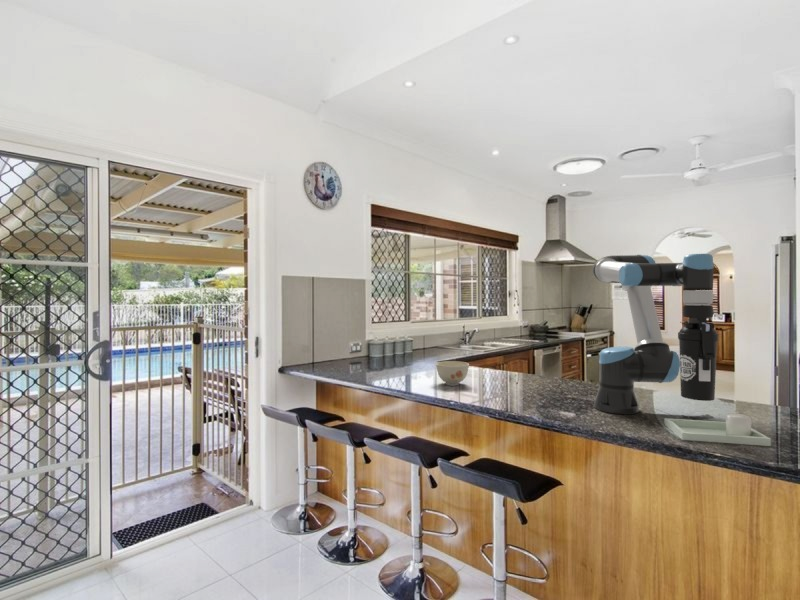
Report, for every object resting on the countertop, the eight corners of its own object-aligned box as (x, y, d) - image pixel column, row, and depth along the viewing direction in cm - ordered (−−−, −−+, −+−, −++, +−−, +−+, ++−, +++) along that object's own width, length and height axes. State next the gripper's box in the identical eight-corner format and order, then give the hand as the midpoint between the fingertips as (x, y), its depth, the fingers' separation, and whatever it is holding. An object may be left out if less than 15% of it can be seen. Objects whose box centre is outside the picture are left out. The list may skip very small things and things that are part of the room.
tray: (682, 443, 125) (682, 432, 125) (664, 427, 140) (664, 418, 140) (770, 449, 120) (770, 438, 120) (742, 432, 134) (742, 422, 134)
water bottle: (669, 393, 135) (670, 321, 135) (699, 393, 136) (700, 321, 136) (694, 401, 125) (695, 323, 125) (726, 401, 126) (727, 323, 125)
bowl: (434, 387, 199) (434, 366, 199) (437, 380, 215) (437, 360, 215) (469, 388, 197) (469, 367, 197) (469, 381, 213) (469, 361, 212)
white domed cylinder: (731, 438, 126) (732, 418, 126) (721, 432, 132) (722, 412, 132) (755, 440, 124) (755, 419, 124) (744, 433, 130) (744, 414, 130)
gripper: (730, 305, 118) (729, 385, 119) (696, 303, 140) (696, 371, 140) (699, 305, 120) (698, 384, 121) (670, 303, 142) (670, 370, 142)
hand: (697, 377), depth 130 cm, fingers closed on water bottle, 9 cm apart
